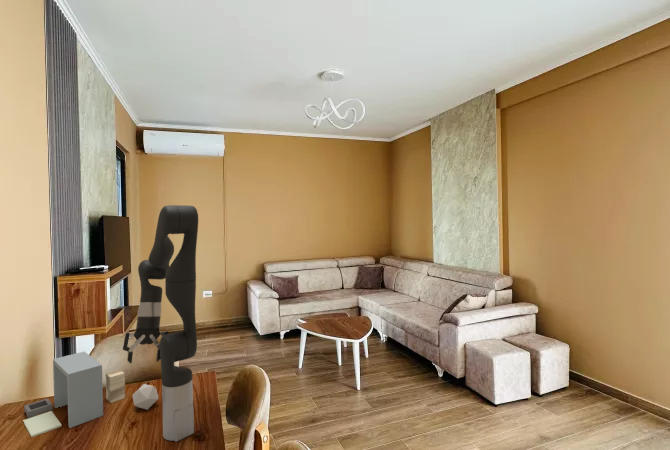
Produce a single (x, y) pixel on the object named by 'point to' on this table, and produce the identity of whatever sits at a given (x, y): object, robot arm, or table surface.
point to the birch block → (115, 386)
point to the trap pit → (38, 408)
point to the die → (145, 396)
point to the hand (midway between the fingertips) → (144, 362)
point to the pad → (41, 423)
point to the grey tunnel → (78, 387)
